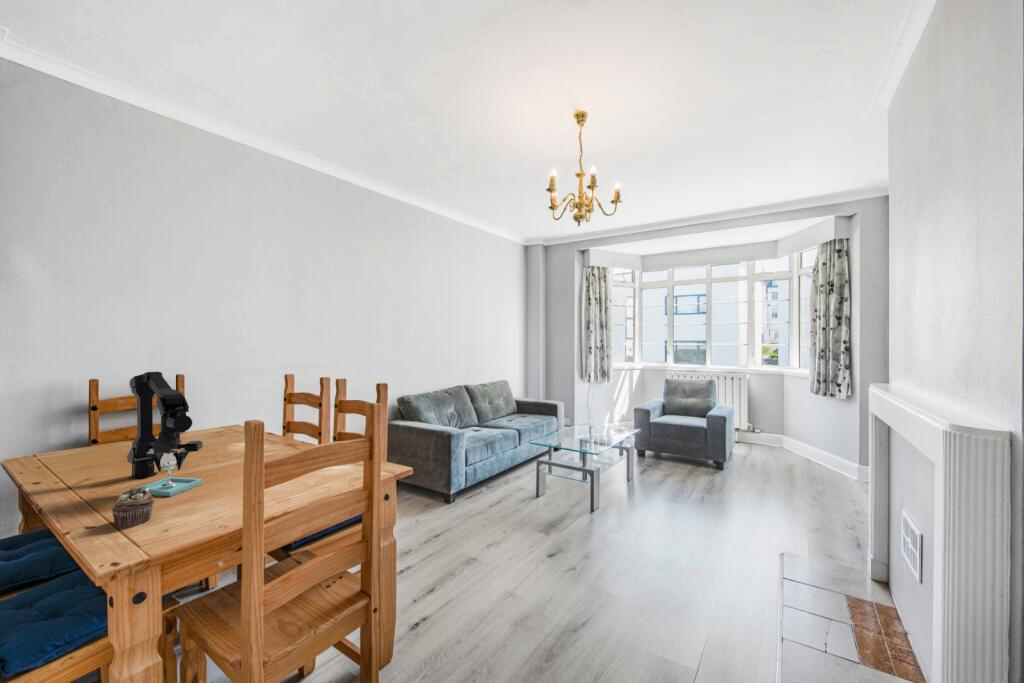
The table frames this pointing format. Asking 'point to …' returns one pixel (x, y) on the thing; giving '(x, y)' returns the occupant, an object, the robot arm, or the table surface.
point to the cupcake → (133, 508)
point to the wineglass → (169, 464)
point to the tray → (169, 491)
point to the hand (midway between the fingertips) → (169, 470)
